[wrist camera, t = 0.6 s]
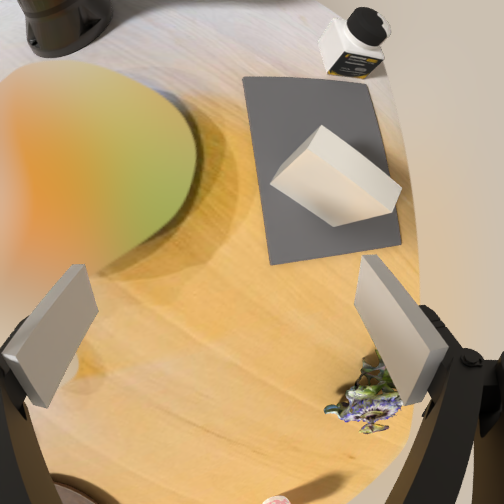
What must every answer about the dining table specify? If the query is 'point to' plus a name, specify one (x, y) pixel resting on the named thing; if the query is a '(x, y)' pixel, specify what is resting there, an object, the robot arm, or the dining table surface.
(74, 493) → the plant saucer
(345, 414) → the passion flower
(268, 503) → the beverage cup
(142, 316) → the dining table surface
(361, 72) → the medicine bottle
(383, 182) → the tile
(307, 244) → the mat
